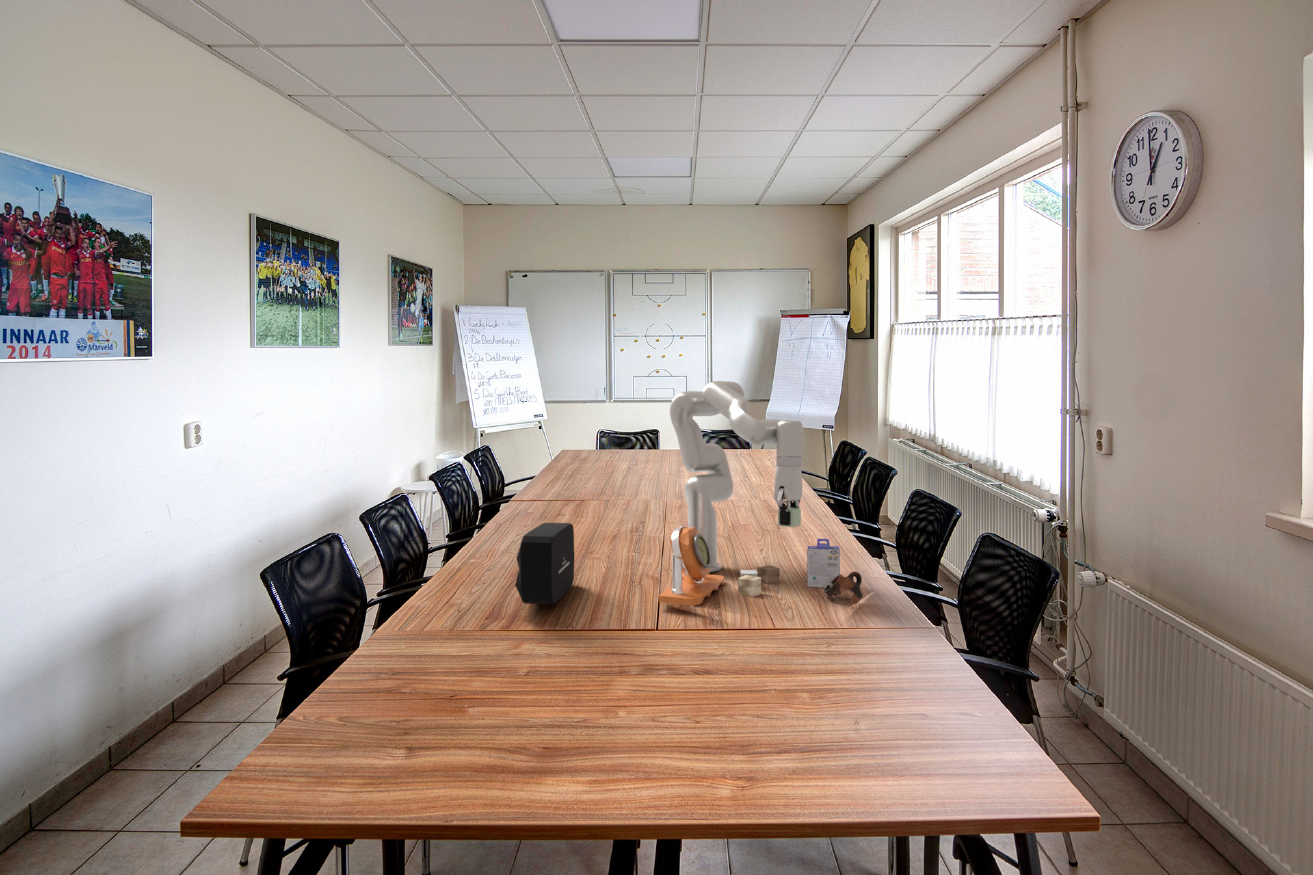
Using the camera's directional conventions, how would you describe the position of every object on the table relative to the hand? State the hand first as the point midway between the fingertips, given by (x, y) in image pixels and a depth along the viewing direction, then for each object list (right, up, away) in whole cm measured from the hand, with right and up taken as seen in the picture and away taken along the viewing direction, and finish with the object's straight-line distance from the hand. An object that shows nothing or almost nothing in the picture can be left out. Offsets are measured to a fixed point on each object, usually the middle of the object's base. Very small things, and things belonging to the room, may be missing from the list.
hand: (789, 523), depth 209 cm
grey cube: (-11, -21, +10) cm, 26 cm away
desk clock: (-28, -22, +4) cm, 36 cm away
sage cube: (0, -1, 0) cm, 1 cm away
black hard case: (-73, -22, +2) cm, 76 cm away
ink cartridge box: (+13, -21, +11) cm, 27 cm away
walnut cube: (-4, -21, +16) cm, 27 cm away
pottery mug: (+18, -21, -6) cm, 29 cm away
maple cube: (-12, -22, +2) cm, 24 cm away
